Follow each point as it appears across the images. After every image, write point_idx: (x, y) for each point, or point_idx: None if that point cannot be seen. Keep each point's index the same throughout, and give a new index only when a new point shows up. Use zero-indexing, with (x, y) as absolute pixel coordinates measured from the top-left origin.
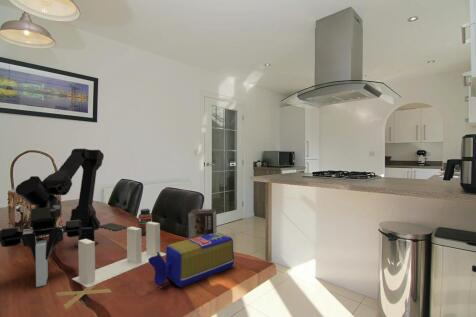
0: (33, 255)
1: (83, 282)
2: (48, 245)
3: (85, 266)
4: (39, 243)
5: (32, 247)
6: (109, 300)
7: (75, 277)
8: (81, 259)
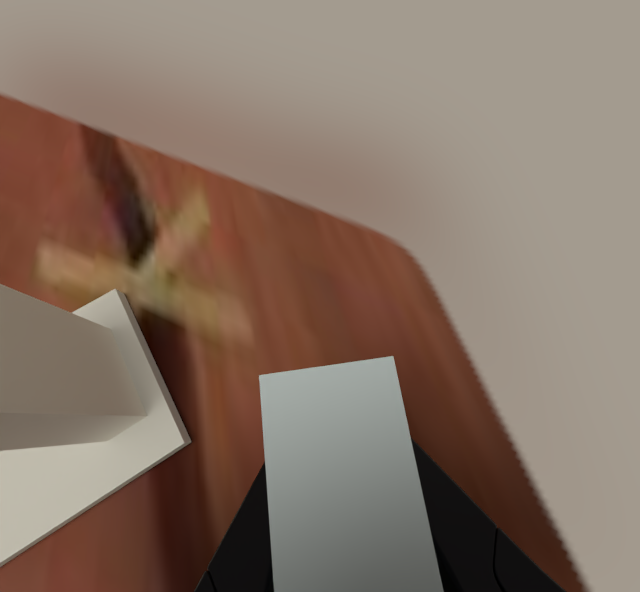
0: (417, 446)
1: (127, 355)
2: (256, 573)
3: (44, 321)
4: (378, 512)
5: (491, 547)
6: (63, 185)
7: (164, 454)
8: (26, 365)
